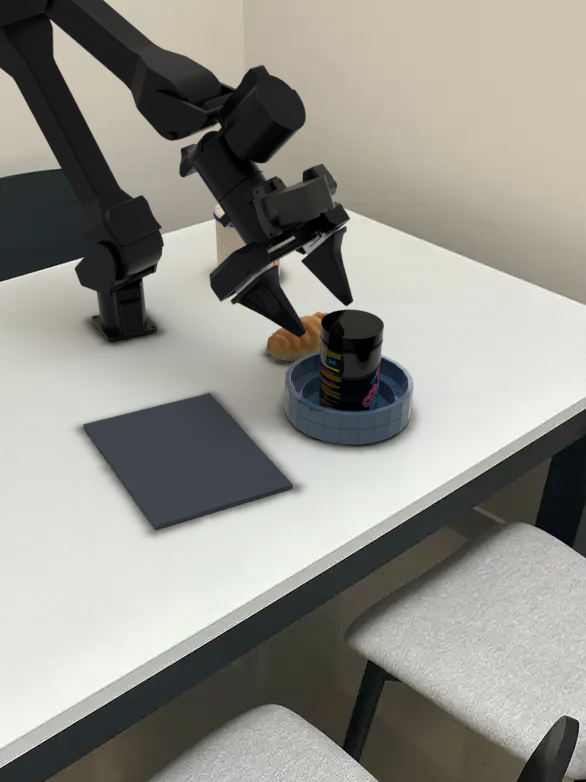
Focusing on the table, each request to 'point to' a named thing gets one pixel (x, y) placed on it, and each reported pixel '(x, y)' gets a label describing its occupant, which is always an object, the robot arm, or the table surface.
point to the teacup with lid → (229, 239)
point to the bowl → (347, 423)
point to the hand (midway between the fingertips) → (327, 319)
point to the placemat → (185, 459)
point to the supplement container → (350, 360)
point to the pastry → (297, 340)
